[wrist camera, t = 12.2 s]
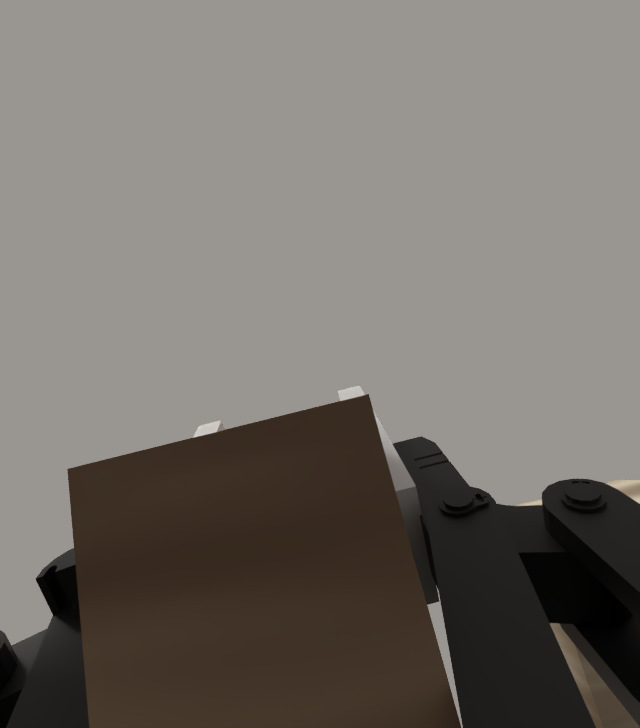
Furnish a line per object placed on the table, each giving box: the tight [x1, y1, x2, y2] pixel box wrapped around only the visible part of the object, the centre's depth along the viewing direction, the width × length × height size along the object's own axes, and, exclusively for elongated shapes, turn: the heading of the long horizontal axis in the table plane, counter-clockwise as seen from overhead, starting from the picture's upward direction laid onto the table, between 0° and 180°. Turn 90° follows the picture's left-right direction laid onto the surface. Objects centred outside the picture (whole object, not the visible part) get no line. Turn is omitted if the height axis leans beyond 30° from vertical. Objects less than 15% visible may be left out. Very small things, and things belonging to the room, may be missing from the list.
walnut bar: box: [68, 394, 461, 728], centre depth 18 cm, size 26×4×4 cm, turn 177°
